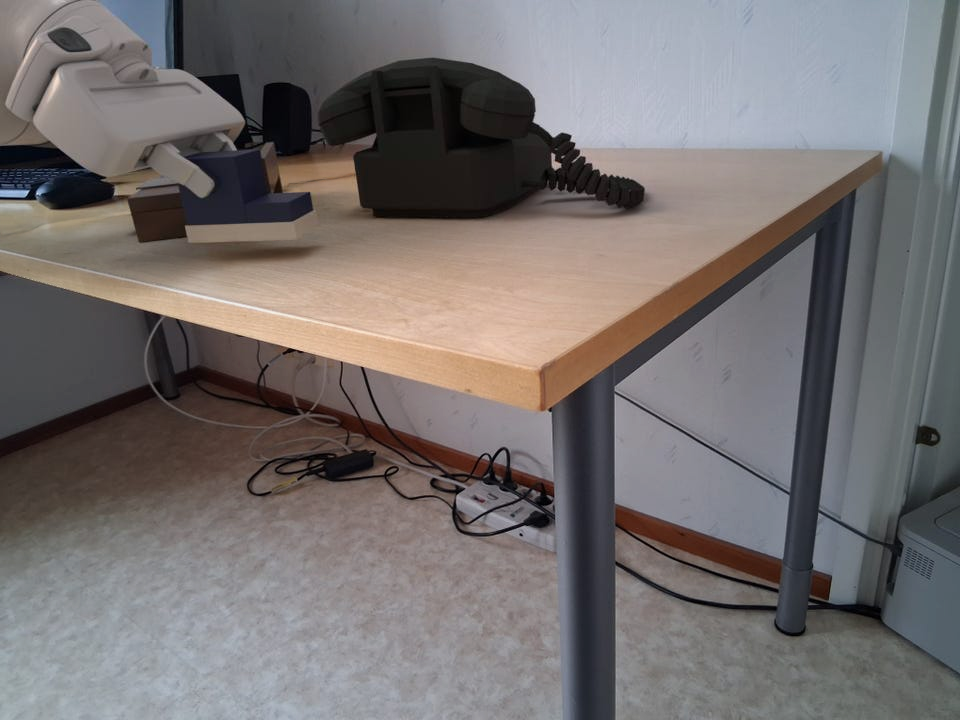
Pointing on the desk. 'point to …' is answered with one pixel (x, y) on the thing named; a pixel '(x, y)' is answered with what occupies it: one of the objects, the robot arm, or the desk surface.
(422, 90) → the rotary telephone
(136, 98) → the robot arm
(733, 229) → the desk surface
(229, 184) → the trainer
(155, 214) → the shoe shelf
